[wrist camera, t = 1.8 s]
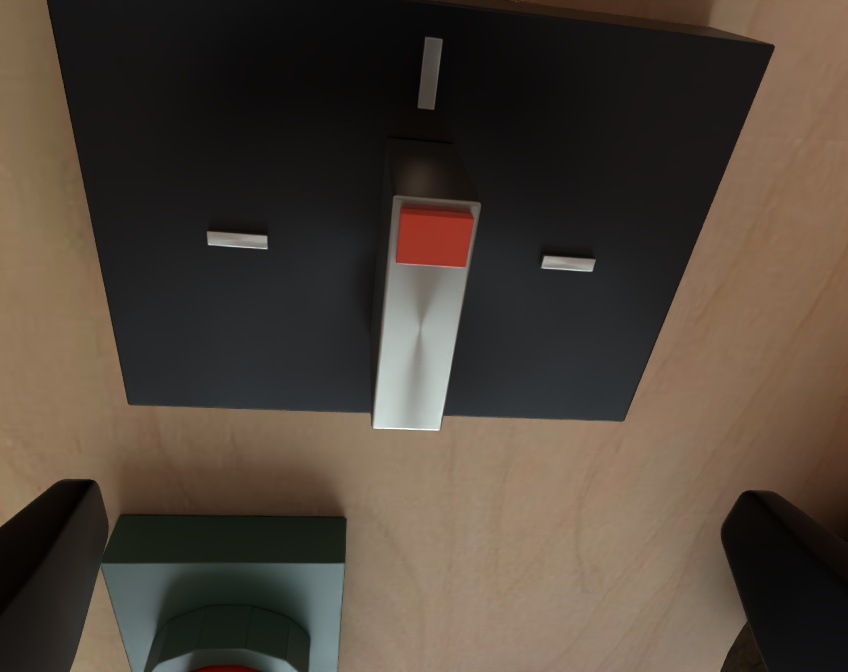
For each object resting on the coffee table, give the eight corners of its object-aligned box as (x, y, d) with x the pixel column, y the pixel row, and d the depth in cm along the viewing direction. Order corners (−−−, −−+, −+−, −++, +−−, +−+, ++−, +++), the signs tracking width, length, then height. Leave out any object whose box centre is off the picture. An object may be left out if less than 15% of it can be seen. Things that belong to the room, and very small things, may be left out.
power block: (118, 514, 24) (79, 608, 20) (346, 517, 25) (344, 606, 22) (157, 670, 30) (132, 761, 27) (335, 666, 32) (332, 752, 28)
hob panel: (157, 345, 19) (126, 409, 17) (95, -54, 13) (30, -51, 11) (594, 366, 22) (626, 426, 19) (710, 27, 15) (781, 46, 13)
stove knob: (427, 342, 17) (442, 439, 13) (369, 339, 16) (371, 437, 13) (456, 143, 14) (484, 207, 10) (385, 137, 13) (393, 201, 10)
